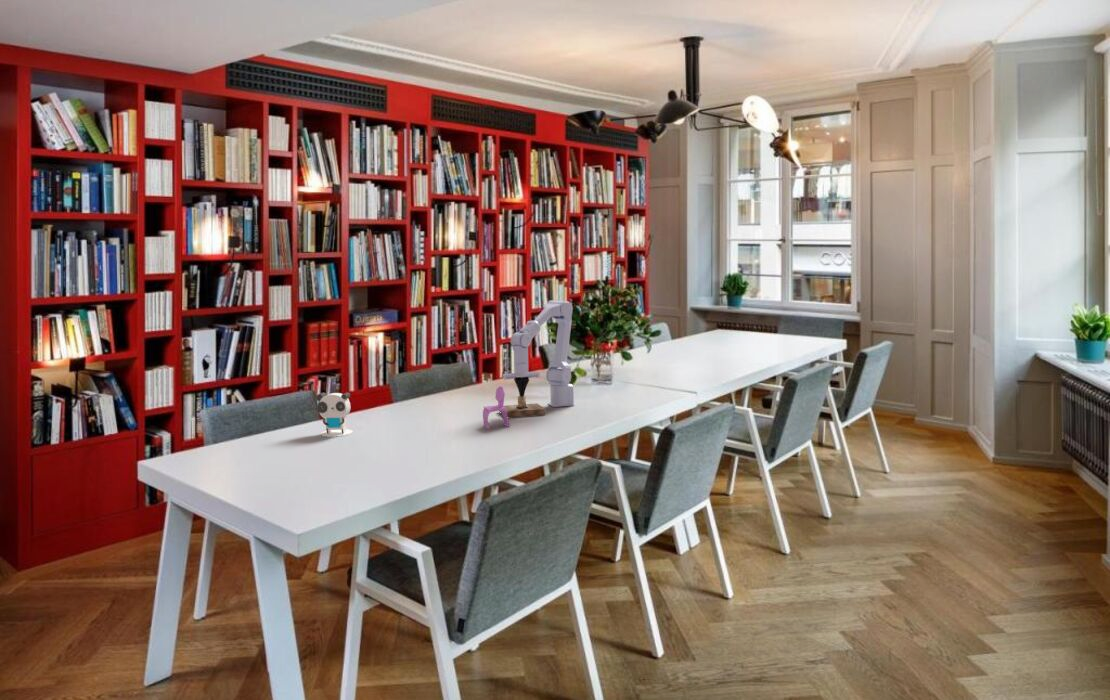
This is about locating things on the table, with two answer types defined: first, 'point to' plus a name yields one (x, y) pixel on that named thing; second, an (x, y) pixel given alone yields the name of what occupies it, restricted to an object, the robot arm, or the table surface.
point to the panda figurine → (334, 413)
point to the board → (524, 410)
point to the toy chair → (496, 407)
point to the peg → (521, 402)
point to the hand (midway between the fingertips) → (521, 395)
